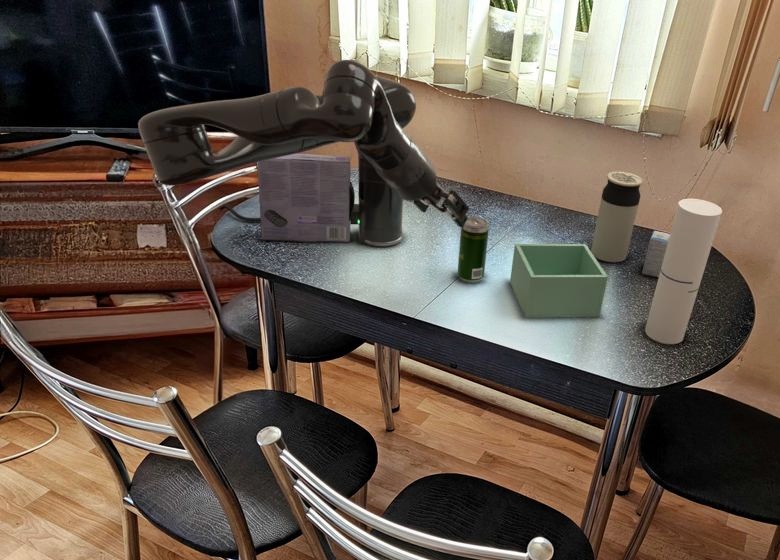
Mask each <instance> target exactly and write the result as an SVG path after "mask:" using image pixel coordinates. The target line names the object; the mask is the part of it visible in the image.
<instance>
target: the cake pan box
mask: <svg viewBox="0 0 780 560" xmlns="http://www.w3.org/2000/svg"><path fill="white" fill-rule="evenodd" d="M256 165H257V180H258V181H257V182H258V201H259V214H260V215H259V216H260V217H259V218H261V221H260V235H261V236H260V237H261V239H262V241H290V242H291V241H292V242H306V243H308V242H310V243H311V242H312V243H313V242H314V243H316V242H317V243H318V242H343V243H350V242H351V224H350V217H351V215H352V212H353V209H354V204H355V200H356V199H355V198H356V195H355V194H356V193H355V188H354V186H353V183H352V181H351V157H350V156H347V155H345V156H343V155H327V154H326V155H325V154H311V153H296V154H292V155H287V156H283V157H278V158H273V159H268V160H264V161H260V162H256Z"/></svg>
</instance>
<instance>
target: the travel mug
mask: <svg viewBox="0 0 780 560" xmlns="http://www.w3.org/2000/svg"><path fill="white" fill-rule="evenodd" d="M606 178H607V183H606V185H605V186H604V187H603V188H602V192H601V197H600V198H601V199H600V203H599V208H598V213H597V218H596V223H595V229H594V233H593V238H592V243H591V249H590V251H591V253H592V254H593V255H594V257H595V258H596V259H597V260H600V261H602V262H606V263H620V262H623V261H625V260H626V259H627V257H628V251H629V248H630V244H631V243H630V242H631V239H632V234H633V230H634V225H635V222H636V217H637V213H638V209H639V204H640V201H641V192H640V187H641V185H642V184H643V182H644V180H643V179H642V178H641V177H640V176H638V175H637V174H634V173H631V172H626V171H612V172H611V171H610V172H609V173H607V175H606Z"/></svg>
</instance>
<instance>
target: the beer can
mask: <svg viewBox="0 0 780 560" xmlns="http://www.w3.org/2000/svg"><path fill="white" fill-rule="evenodd" d="M467 218H468V220H467V221H466V223H465V225H464V226H463V227H462V228H461V227H460V237H459V247H458V248H459V249H458V263H457V276H458V278H459V280H461V281H462V282H464V283H469V284H475V283H480V282H481V281H482V280H483V279H484V277H485V270H486V260H487V251H488V241H489V232H490V231H489V230H490V227H489V222H488V220H487V219H485V218H484V217H483V218H482V217H479V216H467Z"/></svg>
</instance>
